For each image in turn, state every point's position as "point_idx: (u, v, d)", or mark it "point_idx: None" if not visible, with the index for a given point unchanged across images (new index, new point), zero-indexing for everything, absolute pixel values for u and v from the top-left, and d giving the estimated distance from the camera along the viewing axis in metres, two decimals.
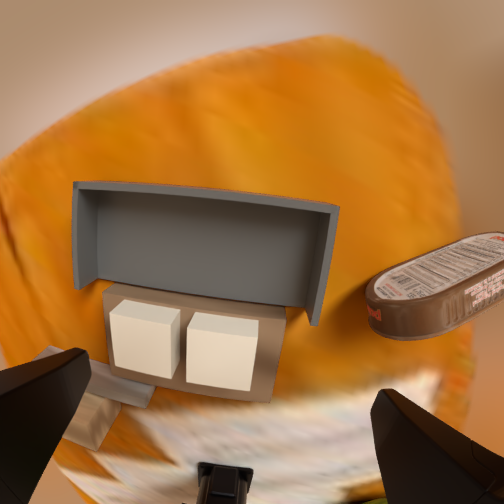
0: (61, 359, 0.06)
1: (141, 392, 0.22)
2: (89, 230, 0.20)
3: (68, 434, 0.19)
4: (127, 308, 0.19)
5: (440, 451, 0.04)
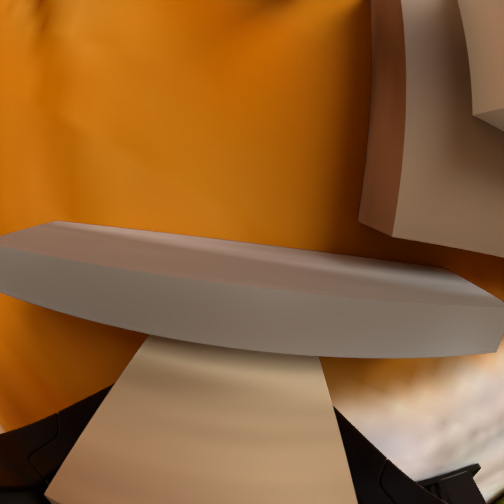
0: None
1: (483, 295, 0.05)
2: None
3: None
4: None
5: None
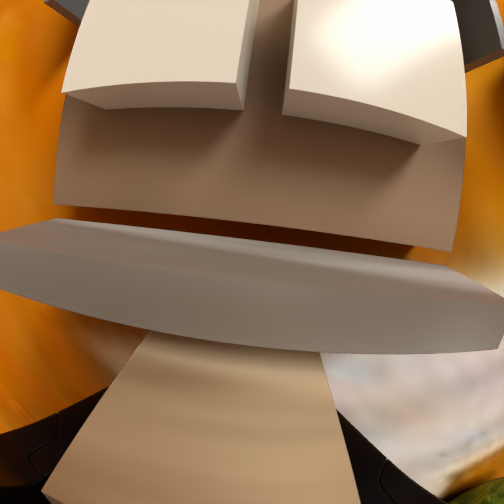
0: None
1: (484, 292, 0.05)
2: None
3: None
4: None
5: None
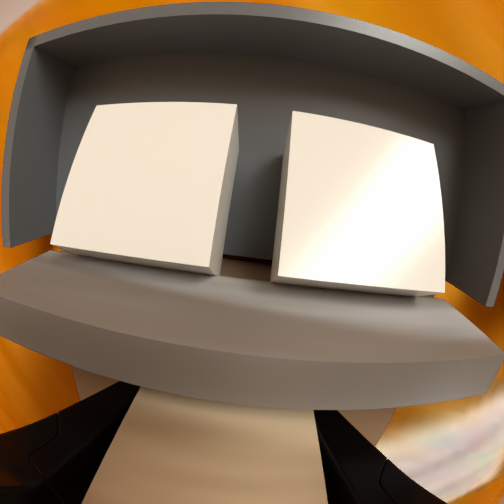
0: None
1: (478, 340, 0.05)
2: (43, 133, 0.09)
3: None
4: None
5: (339, 467, 0.04)
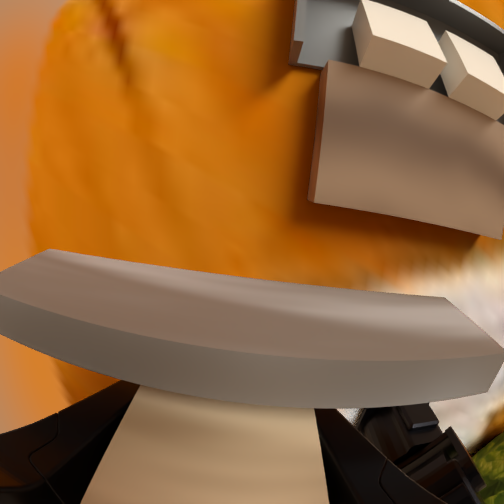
0: None
1: (479, 338, 0.05)
2: None
3: None
4: None
5: (339, 467, 0.04)
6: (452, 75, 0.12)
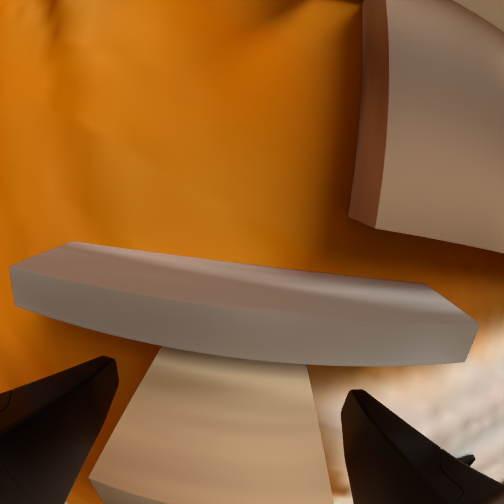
0: (90, 369, 0.06)
1: (453, 312, 0.07)
2: None
3: None
4: None
5: (403, 459, 0.04)
6: None
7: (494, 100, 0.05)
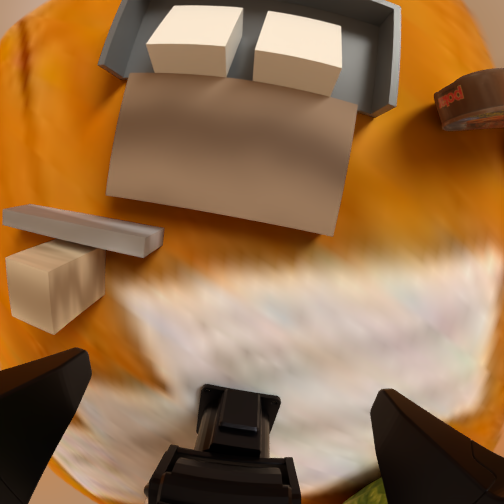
0: (61, 359, 0.06)
1: (141, 233, 0.17)
2: (133, 21, 0.14)
3: (19, 305, 0.14)
4: None
5: (440, 451, 0.04)
6: None
7: (173, 126, 0.15)
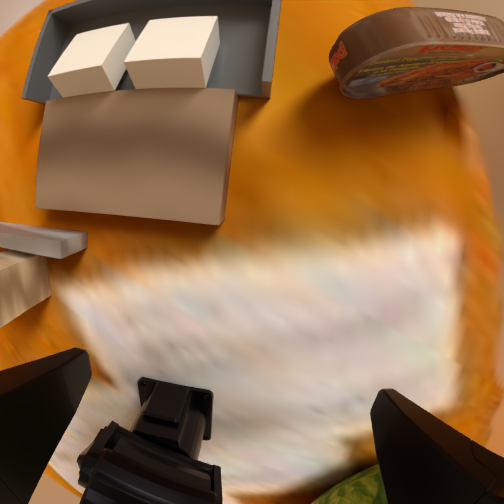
0: (61, 359, 0.06)
1: (61, 238, 0.17)
2: (51, 53, 0.15)
3: None
4: None
5: (440, 451, 0.04)
6: None
7: (77, 142, 0.16)
